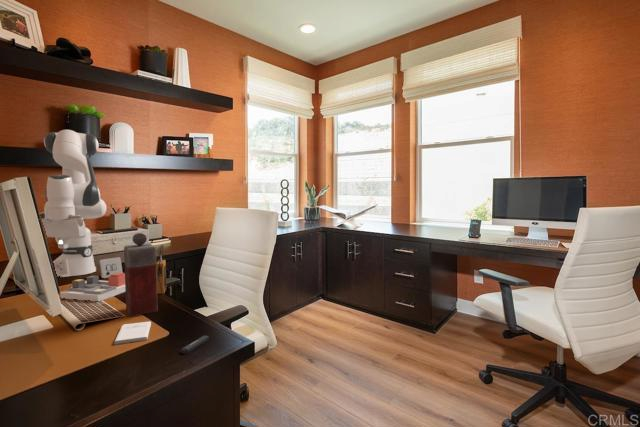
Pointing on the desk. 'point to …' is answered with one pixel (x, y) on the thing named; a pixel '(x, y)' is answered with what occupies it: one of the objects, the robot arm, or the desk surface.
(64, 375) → the desk surface
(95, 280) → the plain toggle
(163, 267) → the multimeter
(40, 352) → the desk surface
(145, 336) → the external hard drive
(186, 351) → the usb stick
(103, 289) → the panel
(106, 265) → the electrical switch
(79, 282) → the tagged toggle
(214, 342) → the desk surface
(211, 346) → the desk surface
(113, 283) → the lockout cap
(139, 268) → the decanter
